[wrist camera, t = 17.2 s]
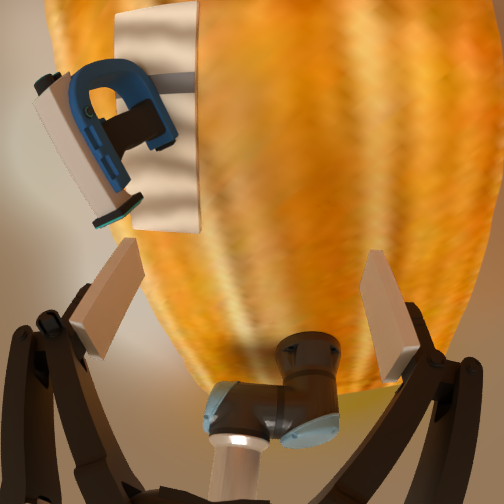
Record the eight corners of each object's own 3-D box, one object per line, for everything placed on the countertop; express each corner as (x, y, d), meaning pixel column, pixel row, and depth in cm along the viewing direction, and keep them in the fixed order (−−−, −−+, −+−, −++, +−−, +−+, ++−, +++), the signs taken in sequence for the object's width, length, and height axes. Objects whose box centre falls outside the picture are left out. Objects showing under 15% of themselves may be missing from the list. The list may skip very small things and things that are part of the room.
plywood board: (201, 230, 49) (199, 234, 48) (135, 225, 50) (132, 229, 49) (199, 2, 28) (196, 0, 27) (118, 14, 28) (114, 14, 27)
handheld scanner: (161, 162, 41) (97, 235, 26) (114, 70, 33) (18, 95, 17) (187, 150, 40) (132, 220, 24) (140, 54, 31) (48, 64, 16)
